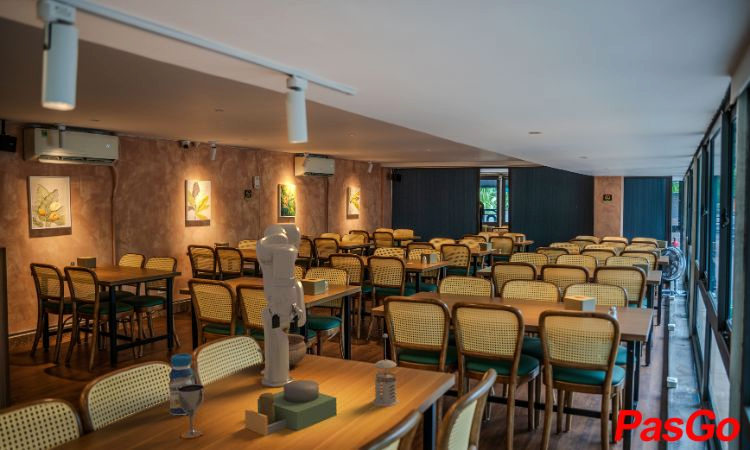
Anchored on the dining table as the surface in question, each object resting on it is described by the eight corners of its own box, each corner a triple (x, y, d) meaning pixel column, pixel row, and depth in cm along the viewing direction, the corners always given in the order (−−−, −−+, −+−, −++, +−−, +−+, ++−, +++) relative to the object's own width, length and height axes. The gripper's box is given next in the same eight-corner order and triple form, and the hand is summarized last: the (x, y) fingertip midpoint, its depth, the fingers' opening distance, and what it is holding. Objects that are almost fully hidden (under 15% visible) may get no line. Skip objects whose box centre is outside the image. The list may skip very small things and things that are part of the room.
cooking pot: (264, 375, 251) (263, 346, 251) (251, 364, 268) (251, 337, 267) (319, 367, 263) (318, 339, 262) (304, 357, 279) (303, 331, 279)
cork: (272, 431, 191) (272, 397, 190) (255, 429, 192) (254, 396, 191) (279, 424, 197) (279, 391, 196) (262, 422, 198) (261, 390, 197)
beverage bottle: (200, 409, 211) (198, 353, 210) (185, 417, 203) (183, 359, 202) (180, 406, 214) (178, 351, 213) (164, 415, 206) (163, 358, 205)
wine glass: (182, 430, 192) (180, 384, 192) (207, 429, 193) (206, 383, 192) (175, 440, 184) (174, 392, 184) (202, 438, 185) (201, 391, 184)
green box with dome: (236, 424, 197) (235, 394, 196) (297, 402, 217) (296, 375, 217) (275, 439, 184) (274, 407, 183) (336, 414, 204) (336, 386, 204)
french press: (403, 399, 219) (402, 332, 218) (391, 409, 209) (390, 339, 208) (379, 395, 224) (378, 329, 222) (365, 405, 213) (364, 336, 212)
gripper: (260, 280, 211) (260, 328, 213) (292, 287, 200) (292, 337, 201) (276, 277, 217) (277, 324, 218) (308, 283, 205) (309, 332, 207)
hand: (284, 330), depth 210 cm, fingers open, 9 cm apart
